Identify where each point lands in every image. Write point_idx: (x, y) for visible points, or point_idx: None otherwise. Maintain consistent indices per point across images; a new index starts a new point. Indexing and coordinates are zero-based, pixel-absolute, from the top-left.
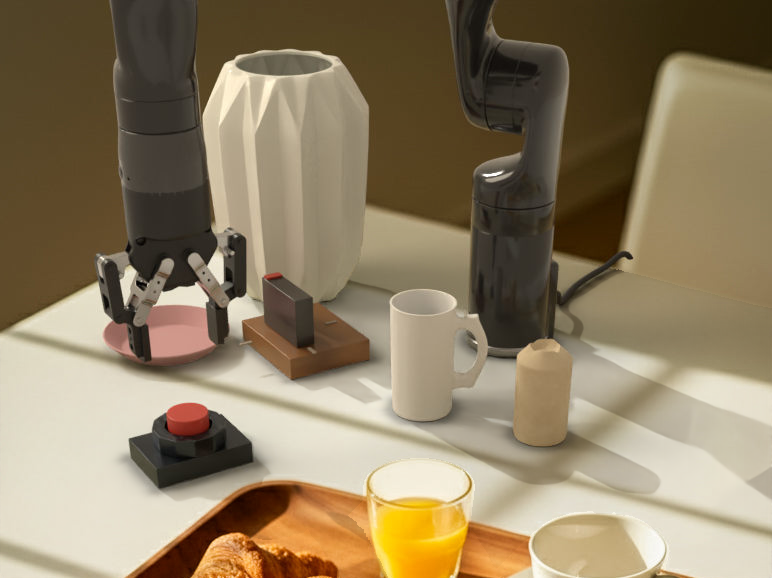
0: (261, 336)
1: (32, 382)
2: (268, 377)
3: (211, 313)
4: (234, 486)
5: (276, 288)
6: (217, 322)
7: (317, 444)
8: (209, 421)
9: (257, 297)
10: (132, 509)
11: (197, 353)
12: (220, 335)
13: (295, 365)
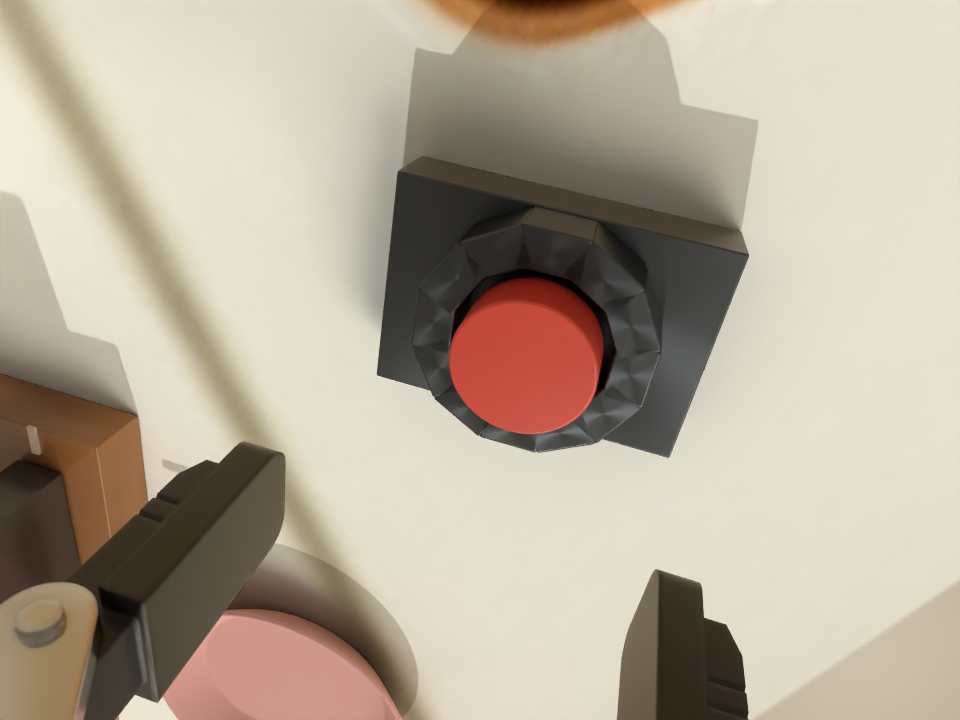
0: None
1: None
2: (178, 460)
3: (181, 613)
4: (555, 71)
5: None
6: (194, 535)
7: (218, 105)
8: (456, 327)
9: None
10: (897, 189)
11: (269, 617)
12: (234, 475)
13: (99, 431)
